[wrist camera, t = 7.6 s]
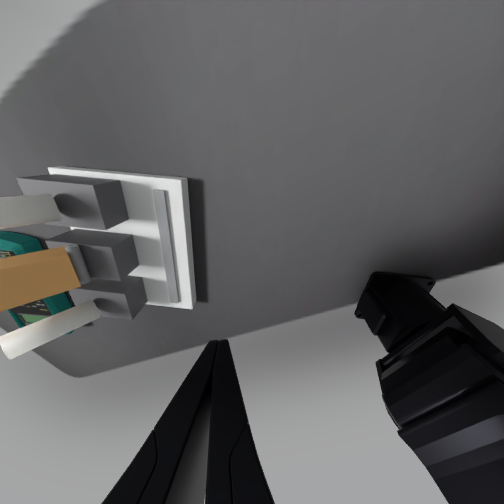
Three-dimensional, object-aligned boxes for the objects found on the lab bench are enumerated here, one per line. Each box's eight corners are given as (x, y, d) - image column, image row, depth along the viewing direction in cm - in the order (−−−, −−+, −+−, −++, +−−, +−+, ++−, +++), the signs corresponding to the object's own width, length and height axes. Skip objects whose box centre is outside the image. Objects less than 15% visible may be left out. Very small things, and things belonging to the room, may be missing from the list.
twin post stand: (187, 177, 18) (97, 205, 9) (196, 300, 25) (152, 390, 15) (55, 165, 18) (-168, 179, 9) (100, 290, 25) (1, 371, 16)
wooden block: (80, 249, 16) (-149, 299, 10) (93, 284, 18) (-97, 344, 12) (76, 241, 17) (-131, 281, 11) (89, 274, 19) (-85, 325, 13)
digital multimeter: (40, 231, 22) (9, 242, 20) (86, 322, 29) (68, 339, 27) (-18, 227, 23) (-55, 237, 20) (41, 318, 30) (19, 334, 27)
